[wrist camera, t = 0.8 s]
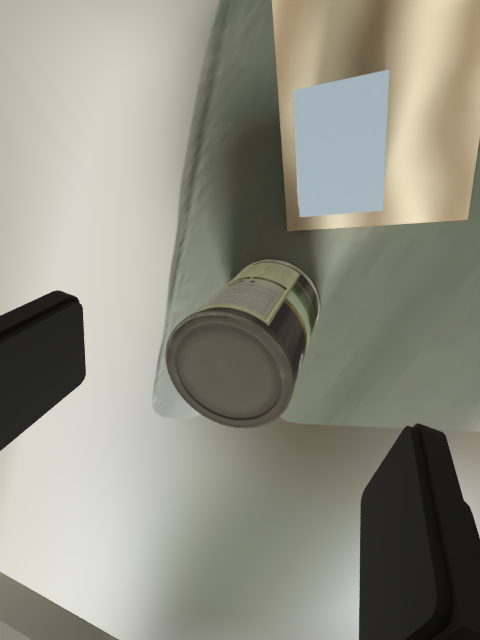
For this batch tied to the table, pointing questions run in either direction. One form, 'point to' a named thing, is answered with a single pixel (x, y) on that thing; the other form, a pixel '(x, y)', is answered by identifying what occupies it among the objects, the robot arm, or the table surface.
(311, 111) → the carton
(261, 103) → the table surface
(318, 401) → the table surface
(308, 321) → the coffee can
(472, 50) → the shelf
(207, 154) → the table surface
